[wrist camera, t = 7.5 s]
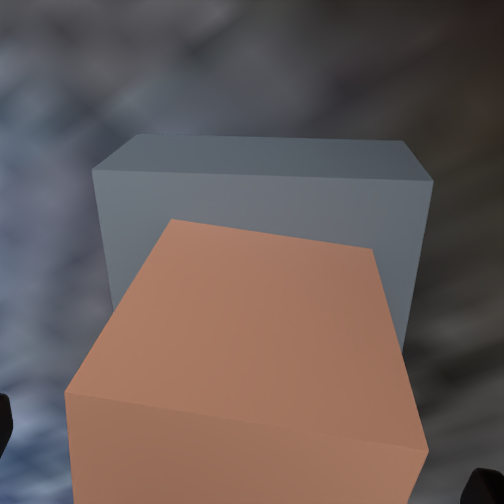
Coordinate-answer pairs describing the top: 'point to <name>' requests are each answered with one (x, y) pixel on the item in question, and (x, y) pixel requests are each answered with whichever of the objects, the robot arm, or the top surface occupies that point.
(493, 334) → the top surface
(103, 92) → the top surface
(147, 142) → the slate base block
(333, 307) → the terracotta block
